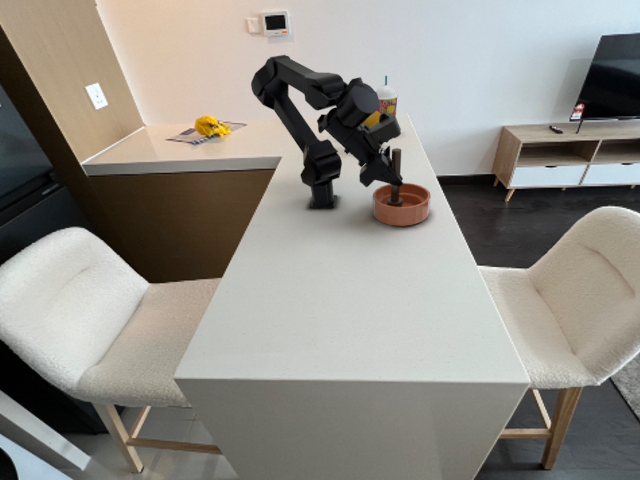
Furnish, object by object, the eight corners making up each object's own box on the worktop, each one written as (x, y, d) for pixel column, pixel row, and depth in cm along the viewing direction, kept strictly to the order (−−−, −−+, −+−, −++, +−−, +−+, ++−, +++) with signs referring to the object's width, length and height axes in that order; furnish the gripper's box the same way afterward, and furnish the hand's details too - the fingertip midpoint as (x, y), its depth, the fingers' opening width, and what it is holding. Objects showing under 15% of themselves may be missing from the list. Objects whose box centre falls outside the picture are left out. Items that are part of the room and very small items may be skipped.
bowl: (430, 228, 76) (432, 207, 73) (371, 227, 78) (371, 208, 75) (426, 200, 86) (428, 182, 83) (374, 201, 88) (374, 183, 85)
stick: (393, 214, 79) (395, 153, 70) (383, 208, 81) (384, 149, 72) (405, 209, 80) (408, 149, 71) (395, 204, 82) (397, 145, 74)
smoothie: (370, 135, 131) (369, 76, 118) (388, 131, 133) (390, 72, 121) (381, 140, 125) (381, 79, 112) (400, 136, 127) (403, 75, 115)
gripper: (375, 115, 59) (434, 174, 65) (379, 92, 74) (426, 142, 79) (335, 160, 65) (391, 211, 71) (345, 132, 80) (391, 175, 85)
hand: (401, 182), depth 76 cm, fingers closed on stick, 2 cm apart
